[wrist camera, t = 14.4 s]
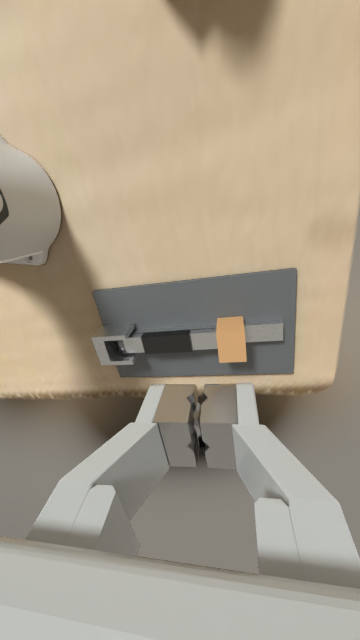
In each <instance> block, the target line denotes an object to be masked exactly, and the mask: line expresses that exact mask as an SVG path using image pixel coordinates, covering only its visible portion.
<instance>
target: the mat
mask: <svg viewBox="0 0 360 640" xmlns="http://www.w3.org/2000/svg"><path fill="white" fill-rule="evenodd" d="M296 284H297V269H296V268H289V269H280V270H271V271H262V272H253V273H244V274H235V275H227V276H218V277H209V278H200V279H191V280H182V281H173V282H165V283H156V284H147V285H138V286H129V287H120V288H111V289H103V290H95V291H94V292H92V293H93V296H94V299H95V302H96V305H97V308H98V311H99V314H100V317H101V320H102V323H103V325H108V324H121V323H135V328H134V329H144V328H158V327H172V326H186V325H200V324H214V323H217V318H224V317H237V316H243V321H257V320H271V319H282V321H283V341H264V342H246V357H247V362H228V363H219V355H218V349H204V350H193V351H192V352H181V353H160V354H145V352H143V353H140V354H139V356H138V357H137V359H136V361H135V363H134V364H133V365H117V368H118V371H119V374H120V377H157V376H197V375H238V374H278V373H293V370H294V341H295V313H296Z"/></svg>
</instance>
